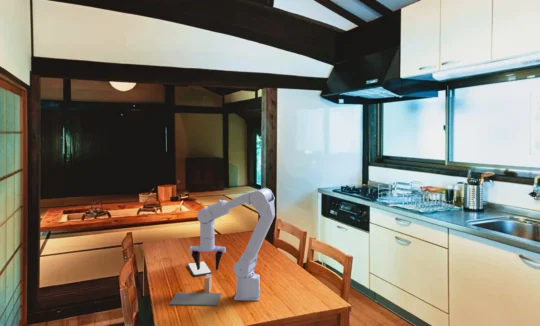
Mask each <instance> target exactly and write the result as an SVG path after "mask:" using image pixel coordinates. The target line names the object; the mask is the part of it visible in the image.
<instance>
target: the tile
mask: <svg viewBox="0 0 540 326" xmlns="http://www.w3.org/2000/svg"><path fill="white" fill-rule="evenodd" d="M212 275H213V273H212V274H207V275H205V277H204V278H203V280H204V281H203V283H204V287H203V288H204V292H203V293H211V290H212V288H213V286H212V285H213V284H212V282H213V281H212V280H213V279H212V278H213V277H212Z"/></svg>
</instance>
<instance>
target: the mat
mask: <svg viewBox="0 0 540 326" xmlns="http://www.w3.org/2000/svg"><path fill="white" fill-rule="evenodd" d="M221 296H222V293H221V292H210V293H204V292H176V293H175V295H174V296H173V298H172V299H171V301H170V302H169V306H192V307H193V306H194V307H195V306H197V307H199V306H201V307H202V306H203V307H205V306H207V307H209V306H211V307H217V306H218V303H219V301H220V298H221Z"/></svg>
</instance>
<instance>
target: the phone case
mask: <svg viewBox="0 0 540 326" xmlns="http://www.w3.org/2000/svg"><path fill="white" fill-rule="evenodd" d="M186 266H187V268H188V270H189V271H190V274H191V275H192V277H193V278H198V277H204V276H205V277H206V275H207V274H212V275H213V272H212V270H211V268H210V267H209V265H208V264H207V263H206V262H205V261H203V260H202V261H201V260H200V269H199V270H197V266H196V263H195V261H194V262H190V263H189V262H188V263H187V265H186Z"/></svg>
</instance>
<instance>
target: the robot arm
mask: <svg viewBox="0 0 540 326" xmlns="http://www.w3.org/2000/svg"><path fill="white" fill-rule="evenodd" d="M275 199H276V198H275V196H274V193H273V192H272V190H271V189H269V188H268V187H262V188H261V189H256V190H253V191H252V190H251V191H248V192H245V193H243V194H241V195H239V196H237V197H234V198H232V199H230V200H229V201H228V200H226V199H223V200H222V199H219V200H217V201H216V203H214V204H209V205H207V207H204V208H201V209H200V210H199V211H198V212H197V216H196V217H197V221H199V226H200V227H199V229H200V230H199V232H200V233H199V236H200V241H199V243H200V245H194V246H193V245H192V246H189V253H191V257H192V259H193V260H194V262H195V263H196V266H197V270H199V269H200V262H201V258H200V257H201V253H215V255H214V256H215V271H218V270H219V266H220V261H221V258H222V257H223V256H222V255H223V254H225V253H226V246H221V245H215V244H216V243H215V241H216V238H215V222H216V221H215V220H216V219H219V218H221V217H224V216H226V215H229V214H230V212H231V210H232V209H234V208H237V207H239V206H241V205H244V204H246V205H249V206H250V205H251V206H252V207H253V208H254V210H255V211H256V212H258V214H259V218H258V221H257V223H256V226H255V228H254V230H253V232H252V234H251V236H250V238H249V241H248V244H247V245H246V248H245V250H244V252H243V253H242V255H241V256H240V257H239V259H238V261H236V262H235V263H234V265H233V268H232V269H233V273H234V275H235V277H236V278H235V279H236V282H235V285H236V286H235V287H236V289H235V290H236V292H235V296H234V298H233V299H234V301H255V302H256V301H259V300H260V294H261V287H260V286H261V285H260V284H261V283H260V282H261V281H260V279H261V278H260V277H261V276H260V274H258V273H255V268H256V267H257V261H258V257H259V256H258V254H259V251H260V249H261V247H262V245H263V243H264V241H265V238H266V237H267V234H268V232H269V230H270V228H271V225H272V223H273V221H274V219H275V216H276V213H275V212H276V210H275Z"/></svg>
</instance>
